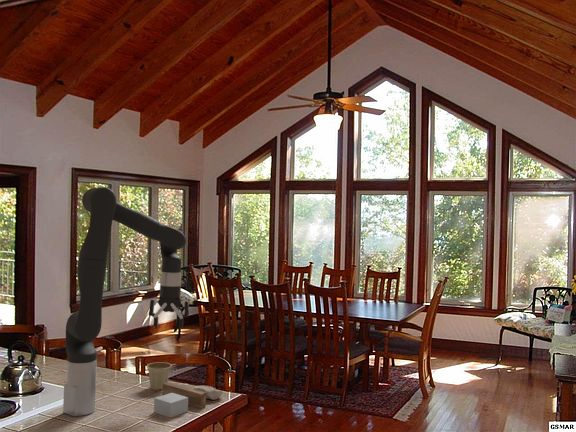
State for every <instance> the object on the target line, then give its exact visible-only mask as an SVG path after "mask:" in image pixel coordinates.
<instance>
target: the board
mask: <svg viewBox="0 0 576 432" xmlns="http://www.w3.org/2000/svg"><path fill="white" fill-rule="evenodd" d="M161 391H162V392H161V393H162V394H161V396H163V395H166V394H169V393H175V394H178V395H182V396H185V397H188V406H191V407H194V408H197V409H204V408H205V407H206V404H207V403H206V402H207V401H206V400H207V399H206V392H202V391H198V390H195V389H194V388H190V387H187V386H183V385H179V384H176V383H171V382H169V381H168V382H166V383H163V386H162V390H161ZM203 407H204V408H203Z"/></svg>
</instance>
